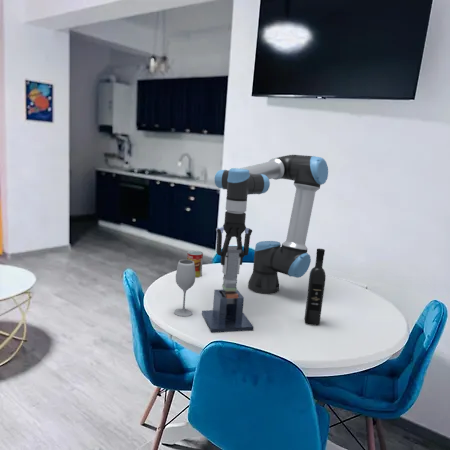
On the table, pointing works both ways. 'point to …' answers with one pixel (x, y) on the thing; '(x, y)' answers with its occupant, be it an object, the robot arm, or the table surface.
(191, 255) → the canned food
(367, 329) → the table surface
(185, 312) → the wineglass
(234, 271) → the column
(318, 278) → the wine bottle
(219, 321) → the stand
